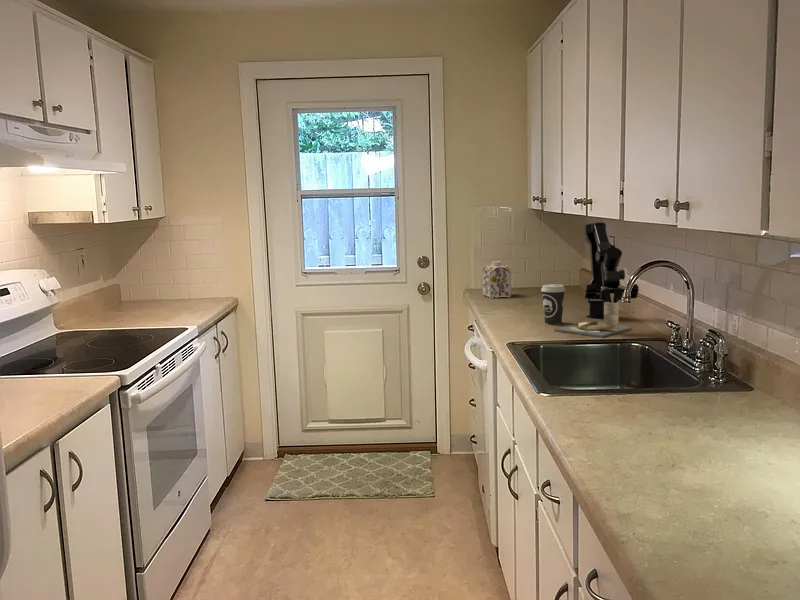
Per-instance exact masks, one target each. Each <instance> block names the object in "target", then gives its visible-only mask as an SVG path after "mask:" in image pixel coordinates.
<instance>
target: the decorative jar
mask: <svg viewBox="0 0 800 600" xmlns="http://www.w3.org/2000/svg"><path fill="white" fill-rule="evenodd" d="M511 273H512V271H511V269H510V267H509V266H508V265H506V264H502V262H501V261H498V260H497V261H495V260H494V261H491V264H488V265H485V266H484V267H483V270H482V295H483V294H485V295H487V296H489V297H496V296H511V297H512V274H511Z"/></svg>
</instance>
